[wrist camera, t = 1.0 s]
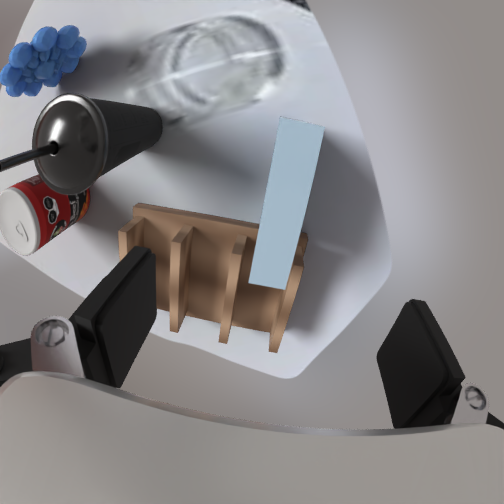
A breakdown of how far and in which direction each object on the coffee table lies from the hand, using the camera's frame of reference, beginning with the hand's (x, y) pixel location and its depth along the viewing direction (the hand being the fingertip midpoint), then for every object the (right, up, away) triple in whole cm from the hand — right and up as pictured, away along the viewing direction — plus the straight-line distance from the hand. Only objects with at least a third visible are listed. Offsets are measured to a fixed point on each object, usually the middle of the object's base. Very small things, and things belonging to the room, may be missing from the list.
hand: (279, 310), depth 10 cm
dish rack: (-6, 0, +26) cm, 26 cm away
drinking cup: (-13, +16, +18) cm, 28 cm away
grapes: (-23, +26, +14) cm, 38 cm away
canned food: (-25, +10, +23) cm, 35 cm away
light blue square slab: (+2, +10, +20) cm, 22 cm away
